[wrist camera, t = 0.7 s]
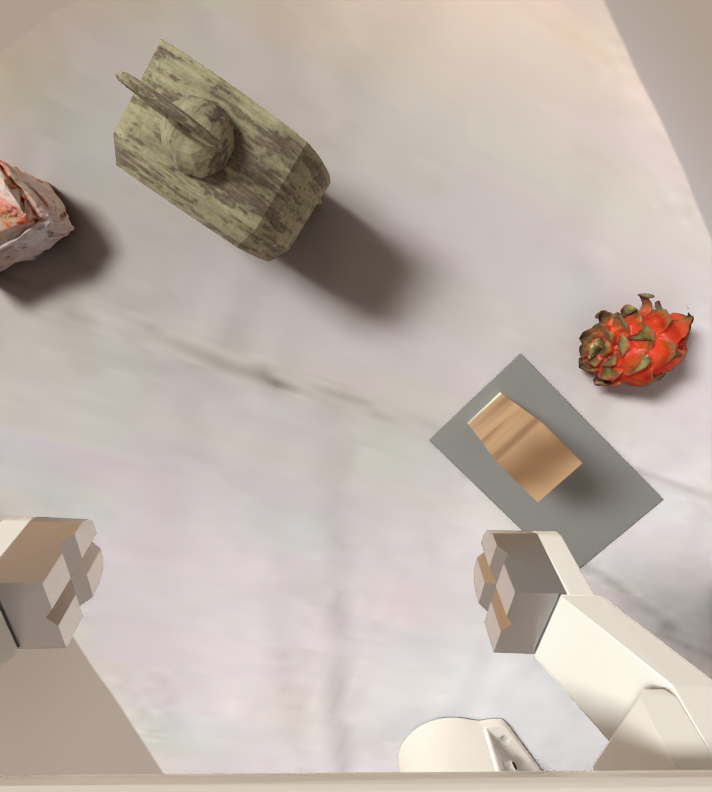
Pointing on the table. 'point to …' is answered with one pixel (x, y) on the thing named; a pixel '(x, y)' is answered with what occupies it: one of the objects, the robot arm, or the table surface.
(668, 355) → the dragon fruit
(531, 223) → the table surface
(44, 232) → the food item
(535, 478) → the light brown wooden block
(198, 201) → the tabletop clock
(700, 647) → the table surface
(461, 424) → the rubber mat
